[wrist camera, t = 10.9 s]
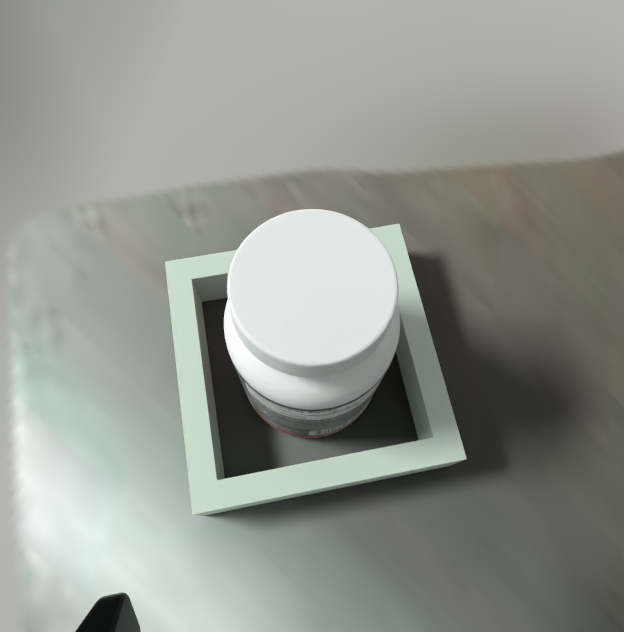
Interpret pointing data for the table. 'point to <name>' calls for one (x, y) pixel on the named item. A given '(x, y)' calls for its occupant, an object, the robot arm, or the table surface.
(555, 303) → the table surface
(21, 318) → the table surface
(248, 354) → the pill bottle
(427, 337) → the bottle holder
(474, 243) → the table surface
